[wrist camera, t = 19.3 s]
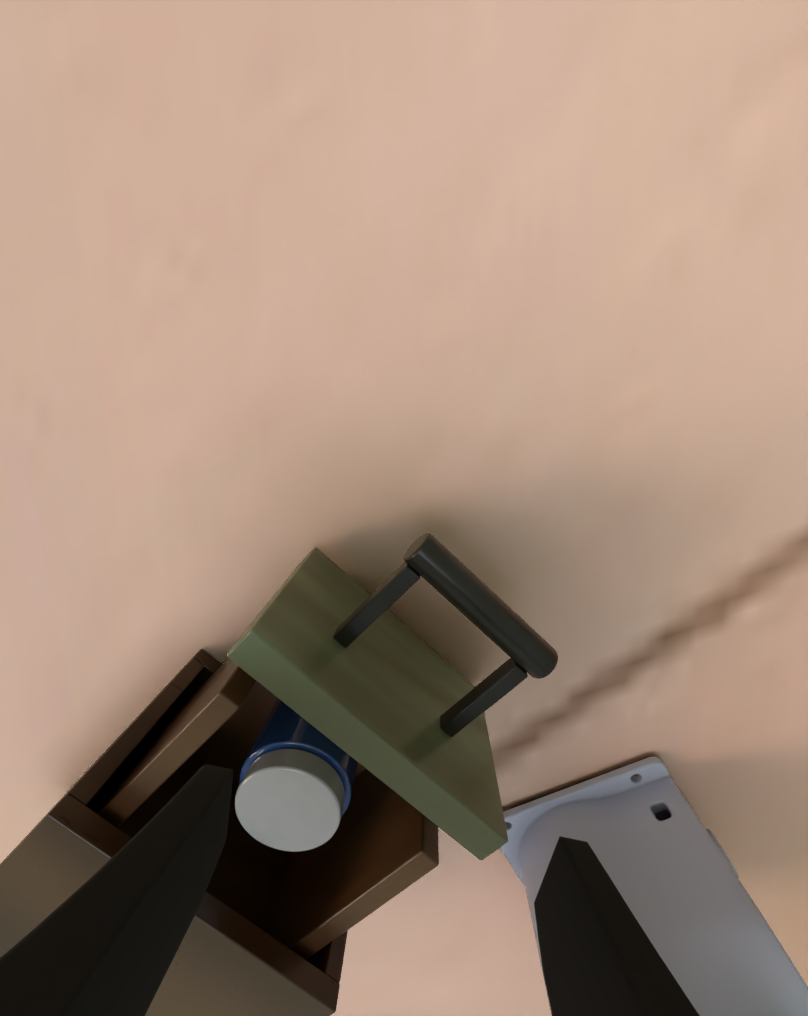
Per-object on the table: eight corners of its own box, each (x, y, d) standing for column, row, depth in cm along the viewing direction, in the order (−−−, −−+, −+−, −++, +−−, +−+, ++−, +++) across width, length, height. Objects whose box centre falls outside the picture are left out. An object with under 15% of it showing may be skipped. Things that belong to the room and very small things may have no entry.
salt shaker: (338, 650, 17) (304, 744, 13) (384, 720, 18) (369, 834, 13) (263, 686, 18) (204, 789, 13) (310, 752, 19) (271, 872, 14)
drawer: (391, 466, 16) (368, 506, 10) (560, 626, 18) (637, 753, 11) (157, 713, 20) (28, 860, 14) (311, 830, 21) (261, 1014, 15)
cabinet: (201, 648, 20) (47, 814, 12) (370, 782, 21) (336, 1012, 13) (65, 794, 23) (-135, 1008, 15) (222, 904, 24) (120, 1153, 16)
